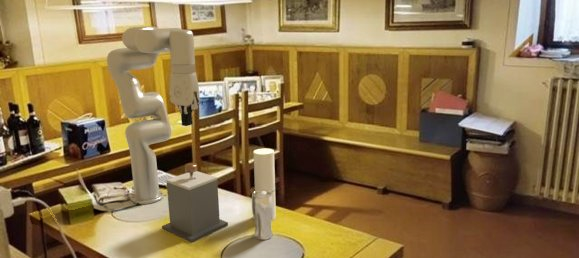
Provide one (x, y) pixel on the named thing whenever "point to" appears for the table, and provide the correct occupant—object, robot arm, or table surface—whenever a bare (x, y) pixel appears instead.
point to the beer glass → (262, 213)
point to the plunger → (191, 169)
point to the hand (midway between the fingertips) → (187, 124)
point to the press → (193, 206)
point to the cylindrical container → (265, 173)
